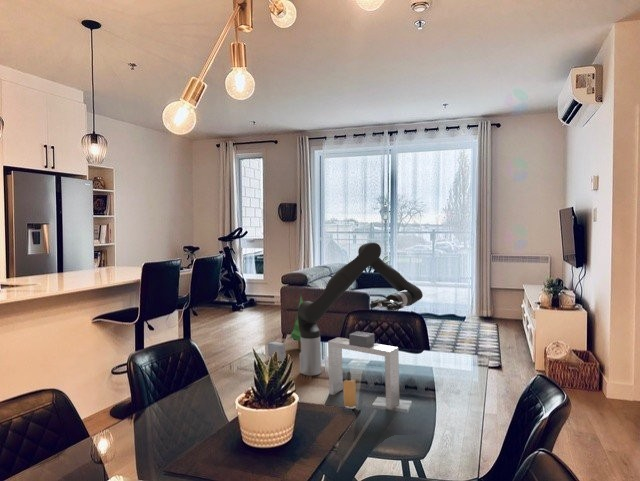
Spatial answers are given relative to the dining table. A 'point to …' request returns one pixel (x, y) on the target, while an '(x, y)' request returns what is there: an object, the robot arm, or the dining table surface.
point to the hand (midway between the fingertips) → (379, 306)
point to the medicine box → (277, 350)
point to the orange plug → (349, 391)
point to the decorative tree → (297, 330)
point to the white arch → (366, 345)
